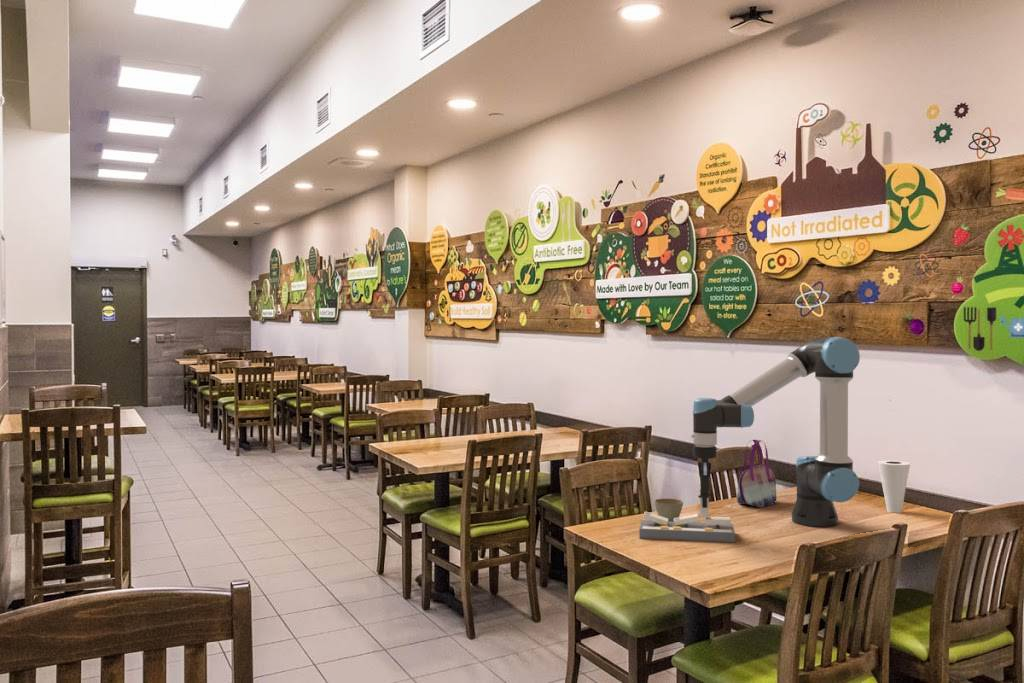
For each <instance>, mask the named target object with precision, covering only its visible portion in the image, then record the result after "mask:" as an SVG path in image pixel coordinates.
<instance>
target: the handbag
mask: <svg viewBox="0 0 1024 683" xmlns="http://www.w3.org/2000/svg"><path fill="white" fill-rule="evenodd" d="M751 441H753V443H754V444H753V445H752V449H751V452H750V458H749V464H750V465H749V466H747V458H748V457H747V456H748V444H749V443H750V442H751ZM761 442H763V444H764V447H765V462H766V464H765V465H764V464H763V450H762V447H761V445H760V444H761ZM747 443H748V444H747V445H746V448H745V451H744V452H745V453H744V458H743V459H744V461H743V472H742V473H741V474H740V476H739V479H738V484H737V492H736V493H737V494H736V496H737V497H736V502H737V503H738V504H739V505H750V506H753V507H756V508H763V507H767V506H772V505H775V504H776V503H777V481H776V476H775V473H774V471H773V470H772V468H770V463H769V454H768V452H769V451H768V448H767V446H766V443H765V442H764V441H763V440H761V439H759V440H757V439H751V440H749V441H748V442H747ZM756 452H758V457H759V459H758V460H759V464H754V458H755V455H756ZM775 501H776V502H775Z"/></svg>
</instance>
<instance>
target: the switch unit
mask: <svg viewBox="0 0 1024 683" xmlns="http://www.w3.org/2000/svg"><path fill="white" fill-rule="evenodd" d="M638 530H639V534H638V535H639V539H648V540H649V539H650V540H669V541H670V540H671V541H691V542H692V541H693V542H694V541H695V542H696V541H697V542H718V543H736V531H735V528H734V525H733V523H731V525H705V522H699V521H698V522H692V523H687V524H681V525H676V526H675V524H674V522H673V521H668V523H667V526H665V525H662V524H659V523H656V522H653V521H649V520H646V519H643V520H640V524H639V529H638Z"/></svg>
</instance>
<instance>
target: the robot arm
mask: <svg viewBox="0 0 1024 683" xmlns="http://www.w3.org/2000/svg"><path fill="white" fill-rule="evenodd" d="M860 359H861V355H860V351H859V348H858V347H857V345H856V344H855V342H853V341H852V340H850V339H848V338H845V337H841V336H832V337H831V336H827V337H824V336H823V337H816V338H813V339H810V340H809V341H807V342H806V343H804V344H802V345H801V346H799V347H797V348H796V349H795V350H793V351H791V352H789V353H788V354H787V358H786V359H784V360H782V361H781V362H779V363H777V364H776V365H774V366H773V367H771V368H769V369H768V370H767V371H764V372H763V373H762V374H760V375H758V376H757V377H755V378H754V379H752V380H750V381H748V382H747V383H746V384H744V385H742V386H740V387H739V388H737V389H736V390H734V391H733V392H731V393H729V394H728V395H726V396H724V397H723V398H721V399H719V400H718V399H716V398H712V397H711V398H710V397H708V398H707V397H700V398H699V397H698V398H695V399H694V401H693V406H692V407H693V408H692V409H693V410H692V418H693V419H692V421H693V425H692V426H693V429H692V430H693V434H691V438H692V440H693V442H692V443H693V446H692V456H693V458H697V459H700V461H698V463H697V464H698V476H699V477H700V478H699V480H700V483H699V485H700V490H699V492H700V493H699V495H697V496H698V498H699V518H704V519H705V518H709V517H710V516H709V515H710V513H709V510H710V509H709V508H710V505H709V504H710V497H711V493H710V477H711V469H712V463H711V462H710V461H709V460H710V459H716V458H717V454H718V453H717V447H716V445H717V444H718V442H717V441H718V431H717V429H718V428H741V429H743V428H750V427H752V426H753V424H754V423H755V422H754V421H755V412H754V408H753V406H755V405H756V404H758V403H760V402H761V401H763V400H765V399H766V398H768V397H769V396H771V395H773V394H775V393H776V392H777V391H779V390H780V389H782V388H784V387H786V386H787V385H789V384H790V383H792V382H793V381H795V380H797V379H798V378H806V377H808V376H809V375H811V374H813V373H815V375H814V378H816V380H817V381H818V382H819V454H817V455H808V456H807V455H806V456H798V457H797V458H796V461H795V462H796V463H795V464H796V465H795V469H796V470H795V472H796V475H795V478H796V500H795V503H794V506H793V509H792V513H791V521H792V522H793V523H796V524H798V525H802V526H803V525H804V526H807V527H808V526H809V527H817V528H818V527H823V528H824V527H834V526H838V524H839V516H838V513H837V510H836V507H835V504H834V502H835V503H845V502H848V501H850V500H852V498H854V497H855V496H856V494H857V493H858V491H859V488H860V480H859V477H858V475H857V474H856V472H854V468H853V467H854V466H853V464H854V461H853V458H850V456H849V447H848V446H849V440H848V436H849V432H848V431H849V429H848V428H849V383H850V382H851V381H852V380H853V379H854V370H856V368H857V367H858V365H859V364H860Z"/></svg>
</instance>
